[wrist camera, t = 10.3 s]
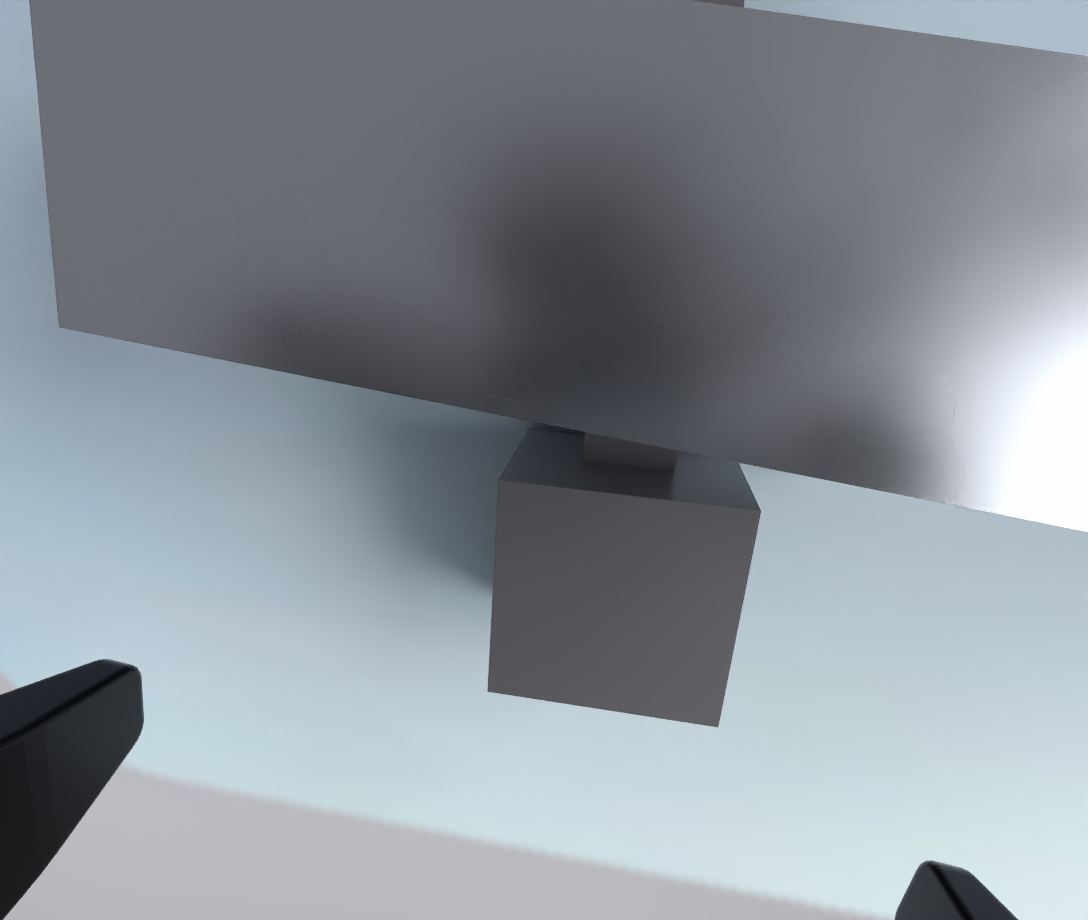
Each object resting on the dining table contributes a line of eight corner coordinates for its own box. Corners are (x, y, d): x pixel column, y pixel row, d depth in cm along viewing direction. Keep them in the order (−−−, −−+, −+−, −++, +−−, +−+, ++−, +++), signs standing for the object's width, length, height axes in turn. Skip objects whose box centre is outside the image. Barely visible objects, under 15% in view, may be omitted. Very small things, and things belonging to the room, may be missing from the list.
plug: (904, -515, 8) (1045, -920, 5) (701, 628, 14) (717, 726, 11) (591, -499, 9) (569, -864, 6) (517, 602, 14) (487, 691, 11)
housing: (1013, 175, 10) (1394, 100, 5) (923, 412, 12) (1152, 544, 6) (306, 63, 11) (19, -95, 6) (298, 294, 13) (59, 327, 7)
